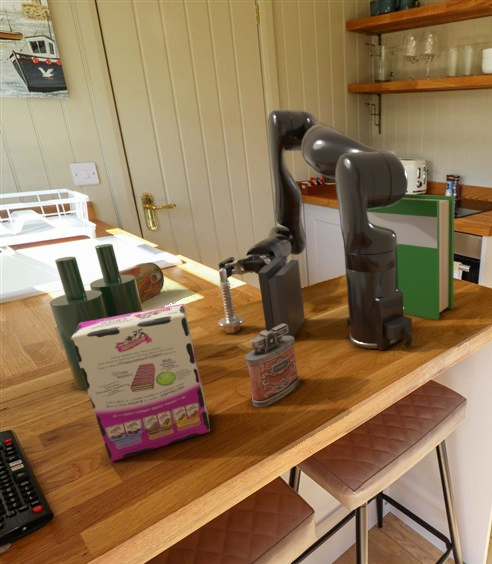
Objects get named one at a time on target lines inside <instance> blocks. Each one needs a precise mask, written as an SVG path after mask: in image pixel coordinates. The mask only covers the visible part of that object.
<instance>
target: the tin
mask: <svg viewBox="0 0 492 564" xmlns="http://www.w3.org/2000/svg"><path fill="white" fill-rule="evenodd" d="M119 272H120V275H132V276H134V277H135V280H136V284H137V288H138V292H139V296H140V300H141V303H143V302H145V301H148V300H149V299H151V298H153V297H156V296H157V295H159V294H160V293H161V292H162V289H163V288H164V285H165V277H164V272H163V271H162V269H161V267H160V266H159V265H158V264H156V263H154V262H144V263H138V264H135V265H133V266H130V267H127V268H125V269H123V270H119Z"/></svg>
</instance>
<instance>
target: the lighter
mask: <svg viewBox="0 0 492 564" xmlns="http://www.w3.org/2000/svg"><path fill="white" fill-rule="evenodd" d="M288 332H289V331H288V325H286V324H281V325H279V326H277V327H274V328H272V330H270V331H266V329H263V330H261V331H259V334H258V336H255V337H254V338H252V339H250V343H251V347H252V350H251V351H249V352H248V353H247V354H245V356H244V359H245V362H246V364H247V368H248V374H249V380H250V387H251V392H252V397H251V401H252V405H253V406H254V407H257V408H264V407H267V406H269V405H271V404H273V403H275V402H278V401H279V400H280V399H282V398H284V397H285V396H286V395H288V394H289V393H291V392H292V391H293V390H295V389H296V387H298V386H299V385H300V382H301V381H300V376H299V375H298V367H297V360H296V350H295V344H296V341H295V336H294V337H292V336H282V335H284V334H286V333H288Z"/></svg>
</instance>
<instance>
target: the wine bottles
mask: <svg viewBox="0 0 492 564" xmlns="http://www.w3.org/2000/svg"><path fill="white" fill-rule="evenodd" d="M94 248H95V253H96V256H97V260H98V263H99V267H100V271H101V275H102V278H99V279H95V280H93V281H92V282H90V284H89V287H90V289H89V290H85V289H86V288H85V285H84V282H83V279H82V275H81V271H80V268H79V265H78V261H77V258H76V256H64V257H60V258H59V257H58V258H56V259H55V260H54V261H55V265H56V269H57V272H58V276H59V278H60V281H61V284H62V289H63V292H64V294H63V295H59V296H57V297H55V298H53V299H51V300H50V302H49V305H50V309H51V312H52V315H53V318H54V322H55V325H54V326H53V327H54V330H55V331H54V332H55V334H56V337H57V340H58V343H59V347H60V350H61V351H64V353H65V355H66V356H65V357H66V359H67V360H66V361H67V364H68V365H69V369H70V372H71V376H72V379H73V382H74V385H75V388H77V390H81V391H88V390H87V387H86V384H85V381H84V377H83V374H82V371H81V368H80V365H79V362H78V359H77V356H76V353H75V350H74V347H73V344H72V340H71V338H72V336H73V334H74V333H75V331H76V330H77V327H78V325H79V323H81V322H87V321H92V320H98V319H103V318H109V317H114V316H119V315H125V314H130V313H135V312H141V311H144V308H143V305H142V302H141V300H140V296H139V292H138V288H137V284H136V280H135V277H134V276H132V275H120V272H119V271H120V269H119V265H118V261H117V256H116V253H115V249H114V245H113V244H112V243H105V244H98V245H95V246H94Z"/></svg>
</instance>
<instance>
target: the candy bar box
mask: <svg viewBox="0 0 492 564" xmlns="http://www.w3.org/2000/svg"><path fill="white" fill-rule="evenodd" d="M71 340H72V344H73V347H74V350H75V353H76V356H77V359H78V362H79V365H80V368H81V371H82V374H83V377H84V381H85V384H86V387H87V390H86V391H87V393H88V397H89V401H90V402H91V406H92V409H93V413H94V416H95V419H96V421H97V422H96V423H97V425H98V428H99V431H100V434H101V437H102V440H103V443H104V447H105V450H106V454H107V457H108V460H109V461H110V462H116V461H119V460H123V459H126V458H129V457H132V456H136V455H139V454H142V453H145V452H149V451H151V450H156V449H159V448H163V447H166V446H169V445H172V444H174V443H178V442H181V441H185V440H188V439H191V438H194V437H198V436H200V435H204V434H207V433H209V432H211V428H210V420H209V412H208V406H207V401H206V397H205V393H204V388H203V387H204V386H203V383H202V379H201V375H200V374H201V373H200V370H199V366H198V361H197V357H196V352H195V347H194V341H193V338H192V334H191V330H190V326H189V321H188V316H187V312H186V307H185V303H180V304H175V305H169V306H163V307H157V308H151V309H146V310H143V311H141V312H135V313H130V314H125V315H119V316H114V317H109V318H103V319H98V320H92V321H87V322H81V323H79V325H78V327H77V330H76V331H75V333H74V334H73V336H72V338H71Z"/></svg>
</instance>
